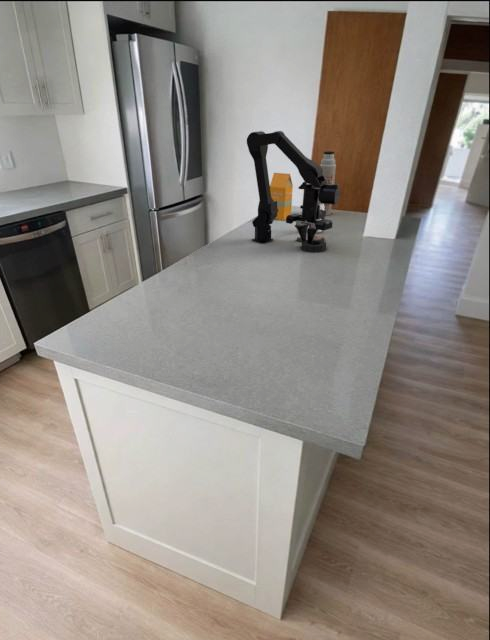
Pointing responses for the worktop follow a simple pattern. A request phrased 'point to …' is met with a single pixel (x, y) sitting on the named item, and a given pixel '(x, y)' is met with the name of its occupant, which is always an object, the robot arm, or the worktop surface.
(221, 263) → the worktop surface
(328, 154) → the thermos bottle
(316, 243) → the rubber ring
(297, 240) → the copper peg on plate
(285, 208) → the orange juice
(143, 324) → the worktop surface
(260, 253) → the worktop surface
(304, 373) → the worktop surface
